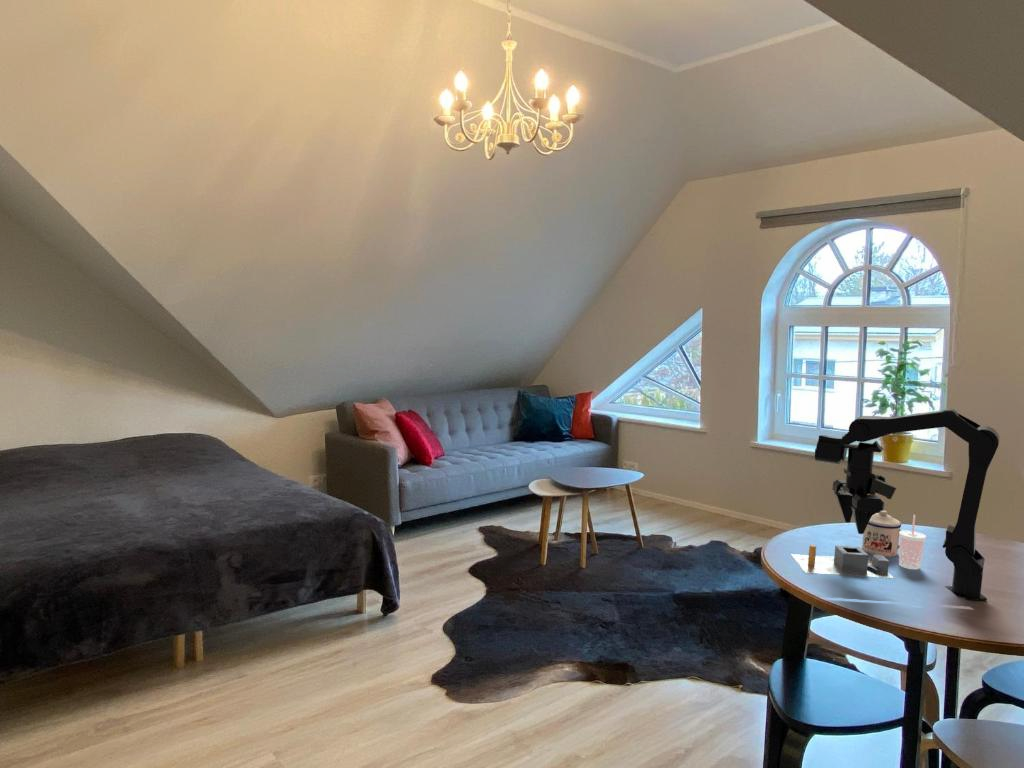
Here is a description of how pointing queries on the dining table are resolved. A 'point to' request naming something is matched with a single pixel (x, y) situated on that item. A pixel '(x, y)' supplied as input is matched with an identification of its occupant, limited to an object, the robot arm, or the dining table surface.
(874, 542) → the teacup with lid
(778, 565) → the dining table surface
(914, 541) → the beverage cup
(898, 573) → the dining table surface
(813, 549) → the post
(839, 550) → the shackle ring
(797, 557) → the tie plate
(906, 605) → the dining table surface
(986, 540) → the dining table surface
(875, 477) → the robot arm
